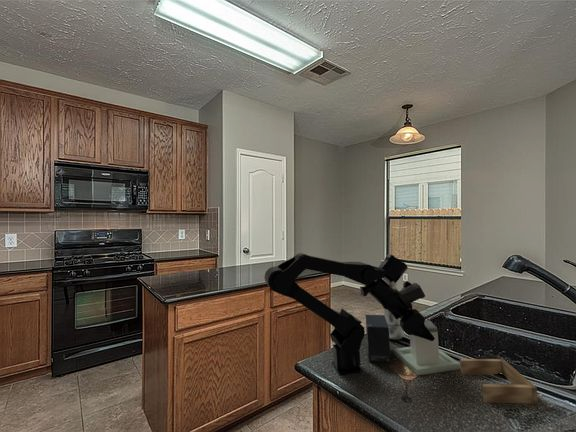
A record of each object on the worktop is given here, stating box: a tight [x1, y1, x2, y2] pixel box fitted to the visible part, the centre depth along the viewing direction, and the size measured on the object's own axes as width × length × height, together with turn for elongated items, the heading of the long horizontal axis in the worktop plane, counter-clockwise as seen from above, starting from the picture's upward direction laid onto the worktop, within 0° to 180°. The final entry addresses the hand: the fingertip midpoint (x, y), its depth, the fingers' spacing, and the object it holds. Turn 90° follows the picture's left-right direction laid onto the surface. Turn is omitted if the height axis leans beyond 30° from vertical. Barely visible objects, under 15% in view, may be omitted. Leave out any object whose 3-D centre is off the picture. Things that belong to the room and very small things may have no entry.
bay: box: [459, 358, 539, 405], centre depth 71 cm, size 10×12×4 cm
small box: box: [364, 314, 391, 363], centre depth 91 cm, size 11×6×10 cm, turn 169°
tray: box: [392, 346, 461, 376], centre depth 85 cm, size 12×12×2 cm
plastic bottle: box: [383, 280, 405, 341], centre depth 101 cm, size 6×7×20 cm
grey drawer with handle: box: [409, 320, 440, 365], centre depth 85 cm, size 6×6×11 cm
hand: (428, 332), depth 85 cm, fingers open, 9 cm apart
